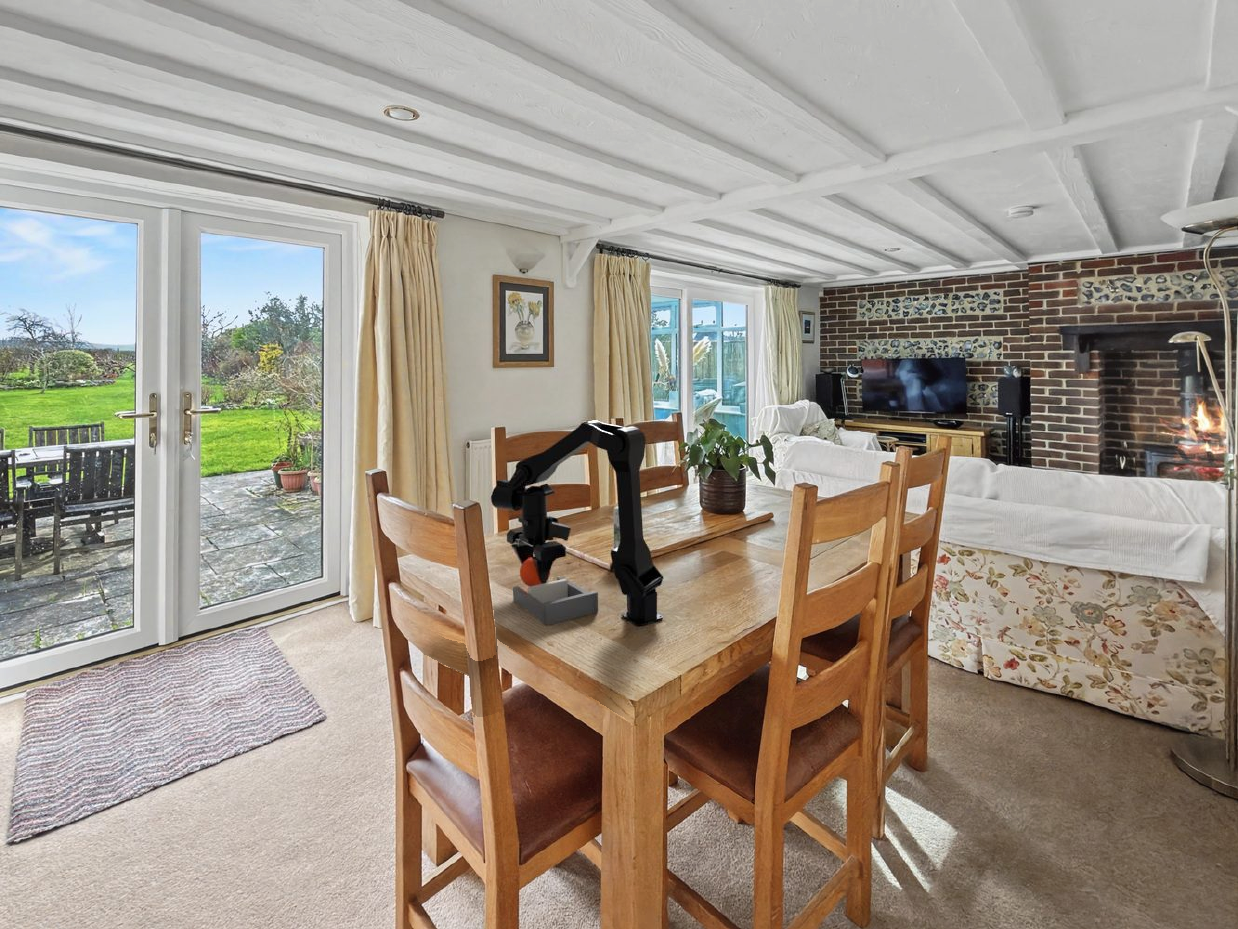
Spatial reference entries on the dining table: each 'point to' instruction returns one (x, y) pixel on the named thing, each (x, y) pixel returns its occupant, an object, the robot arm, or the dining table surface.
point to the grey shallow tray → (559, 604)
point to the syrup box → (616, 528)
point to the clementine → (529, 573)
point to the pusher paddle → (549, 591)
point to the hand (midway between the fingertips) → (536, 579)
